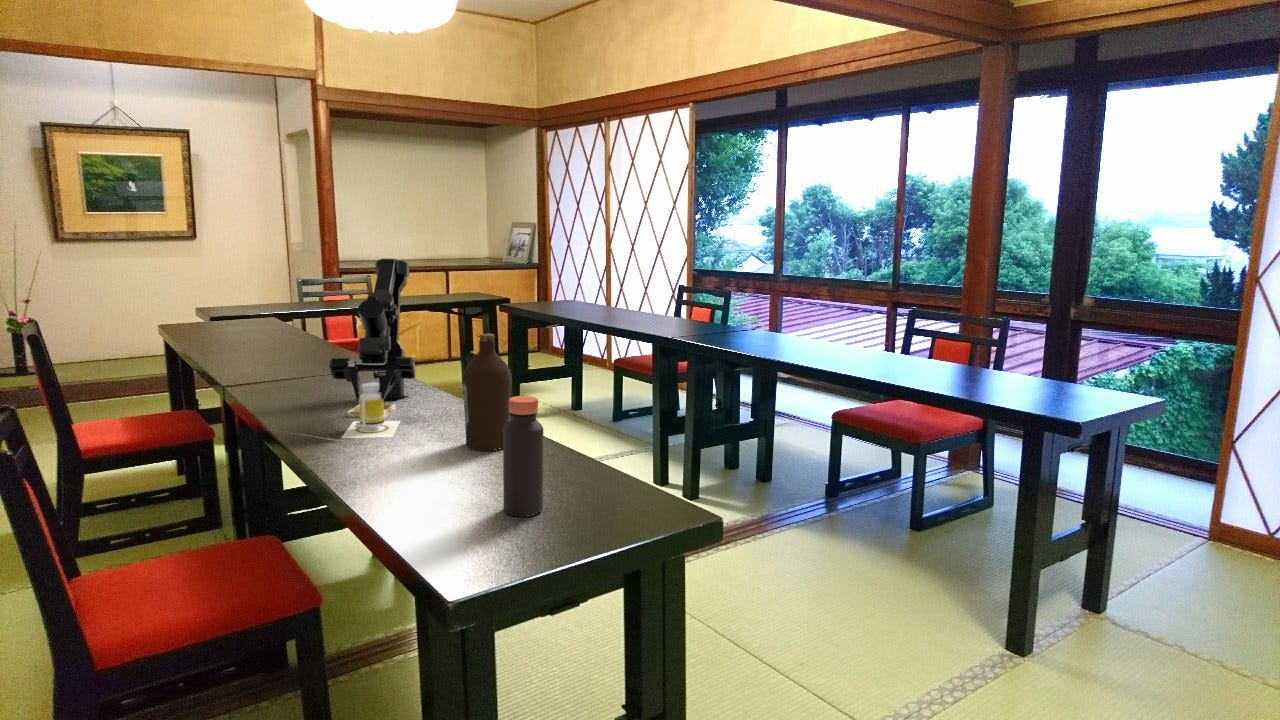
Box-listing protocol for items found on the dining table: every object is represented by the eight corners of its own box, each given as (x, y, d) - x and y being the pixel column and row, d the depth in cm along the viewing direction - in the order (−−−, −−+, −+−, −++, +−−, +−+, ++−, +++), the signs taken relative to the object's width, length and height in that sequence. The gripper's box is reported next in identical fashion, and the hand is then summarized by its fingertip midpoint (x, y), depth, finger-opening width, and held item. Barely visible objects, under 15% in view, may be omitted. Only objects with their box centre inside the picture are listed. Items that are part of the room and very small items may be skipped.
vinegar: (508, 520, 127) (508, 405, 123) (499, 506, 133) (499, 395, 129) (547, 515, 129) (548, 402, 126) (536, 501, 135) (537, 393, 132)
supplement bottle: (389, 423, 177) (388, 383, 176) (372, 429, 173) (371, 387, 171) (371, 420, 180) (370, 380, 178) (354, 425, 175) (353, 384, 173)
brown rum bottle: (514, 439, 173) (514, 331, 168) (508, 453, 163) (508, 338, 158) (468, 438, 173) (466, 330, 168) (459, 452, 162) (457, 337, 158)
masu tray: (361, 409, 195) (361, 403, 195) (396, 410, 195) (395, 404, 195) (347, 418, 186) (347, 411, 186) (384, 419, 186) (383, 412, 186)
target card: (353, 423, 182) (353, 421, 182) (400, 422, 184) (400, 420, 184) (341, 439, 168) (341, 437, 168) (392, 438, 170) (392, 436, 170)
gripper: (329, 323, 174) (320, 380, 165) (412, 323, 177) (408, 379, 169) (337, 350, 183) (329, 405, 174) (417, 350, 186) (413, 404, 178)
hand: (370, 398), depth 174 cm, fingers closed on supplement bottle, 5 cm apart
